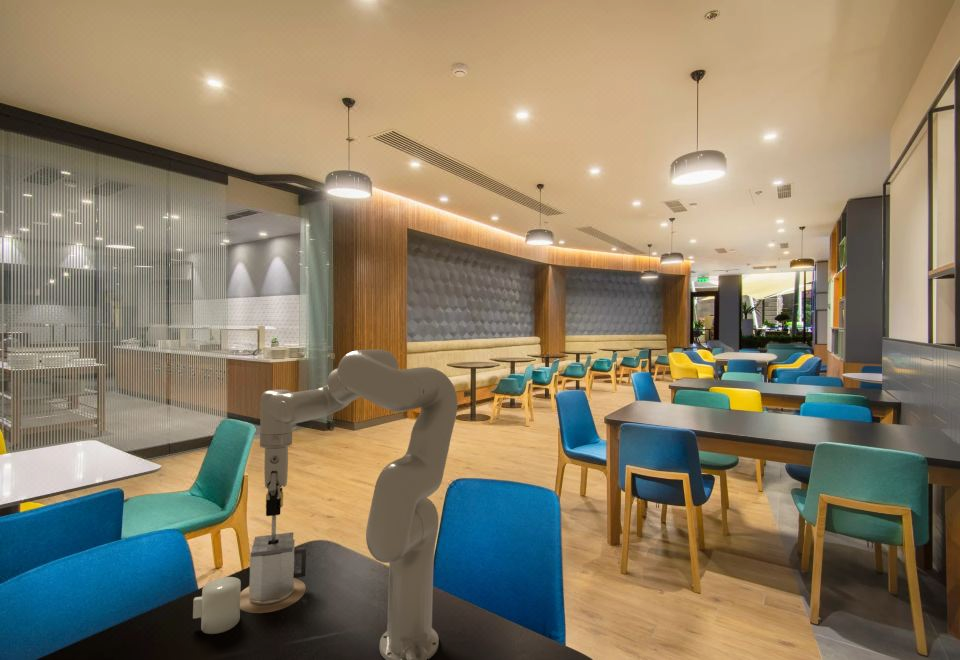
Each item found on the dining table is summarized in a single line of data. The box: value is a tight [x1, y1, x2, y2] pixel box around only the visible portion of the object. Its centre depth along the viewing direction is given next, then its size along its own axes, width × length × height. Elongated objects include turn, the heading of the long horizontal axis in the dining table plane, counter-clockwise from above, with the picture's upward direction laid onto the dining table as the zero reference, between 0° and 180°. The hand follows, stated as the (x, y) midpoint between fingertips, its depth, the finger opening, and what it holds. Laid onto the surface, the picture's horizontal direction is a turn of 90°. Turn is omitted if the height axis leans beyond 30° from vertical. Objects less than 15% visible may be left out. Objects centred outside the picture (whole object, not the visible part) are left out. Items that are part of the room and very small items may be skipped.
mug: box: [192, 576, 242, 635], centre depth 104 cm, size 8×9×9 cm
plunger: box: [265, 490, 284, 544], centre depth 116 cm, size 8×8×18 cm
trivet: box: [240, 578, 307, 614], centre depth 116 cm, size 16×16×1 cm
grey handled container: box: [248, 531, 307, 606], centre depth 117 cm, size 10×13×13 cm
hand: (274, 508), depth 116 cm, fingers open, 7 cm apart
